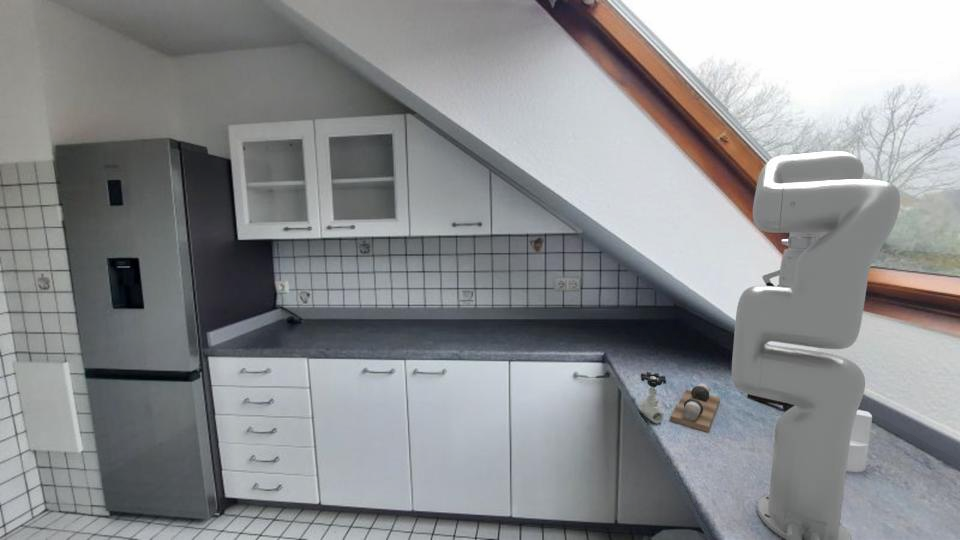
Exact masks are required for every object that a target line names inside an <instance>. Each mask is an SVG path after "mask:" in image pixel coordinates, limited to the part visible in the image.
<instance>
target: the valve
mask: <svg viewBox="0 0 960 540" xmlns="http://www.w3.org/2000/svg"><path fill="white" fill-rule="evenodd" d="M640 381H641V382H645V381H646V383H647V385H648V386H649V387H650V388H648V394H649V395H647V396H646V398H645V399H644V400H642V401H641V402H640V404H639V410H640V411H642V412H643V415H644V416H645V417H646V418H647V419H649V420H650V421H651V422H653V423H655V424H657V425H658V424H660V423H662V422H663V421H664V419H665V418H664V417H665V415H664V413H663V411H662V410H660V408H659V406H658V404H659V399H658V398H657V397H656V395H657V389H656V388H657V387H658V386H661V385H662V384H664V385H666V384H667V379H666V376H664V375H660V374H659V373H658V372H654V373H651V372H650V371H649V372H648V371H647V372H646V373H643V372H641V373H640Z"/></svg>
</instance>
